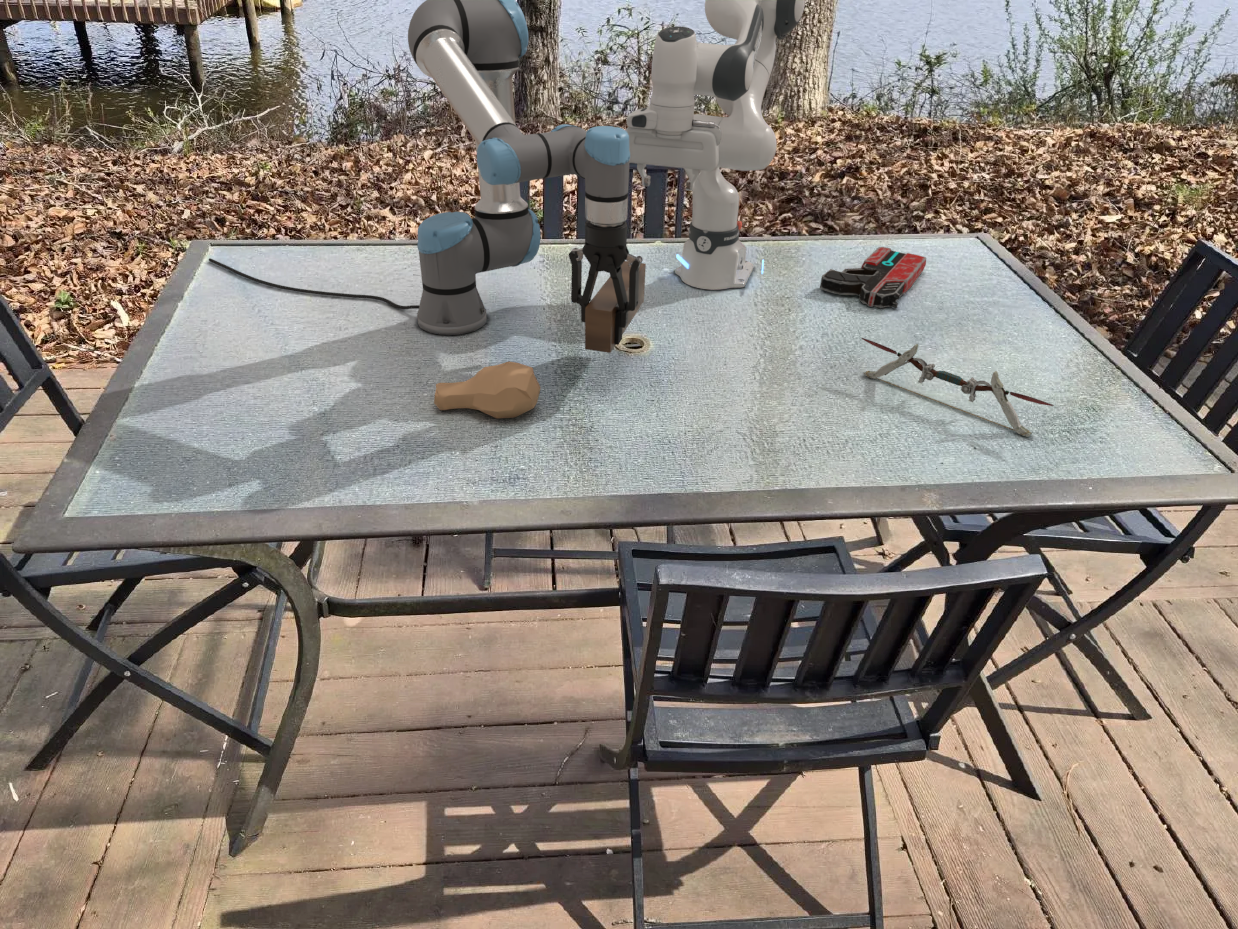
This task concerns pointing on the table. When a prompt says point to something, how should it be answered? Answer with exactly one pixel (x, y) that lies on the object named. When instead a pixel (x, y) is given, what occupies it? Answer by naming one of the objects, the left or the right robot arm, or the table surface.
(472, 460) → the table surface
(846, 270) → the gun
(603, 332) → the bar
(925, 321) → the table surface
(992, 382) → the bow
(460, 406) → the squash
